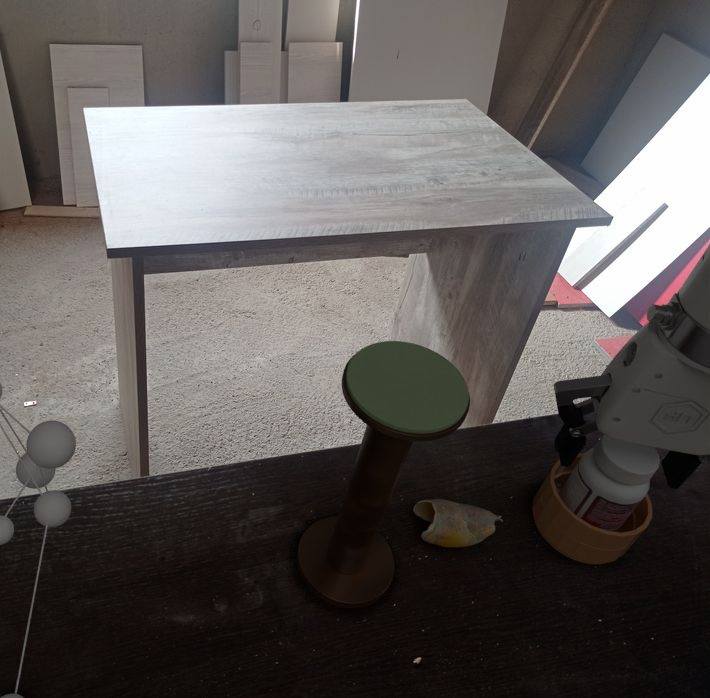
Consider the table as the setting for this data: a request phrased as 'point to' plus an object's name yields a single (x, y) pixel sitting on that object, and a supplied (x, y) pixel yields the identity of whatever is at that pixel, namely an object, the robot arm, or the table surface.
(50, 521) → the molecule model
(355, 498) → the stand
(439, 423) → the coaster
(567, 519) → the bowl
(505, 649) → the table surface
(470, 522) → the cream hollow shell
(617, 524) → the pill bottle
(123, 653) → the table surface
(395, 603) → the table surface
